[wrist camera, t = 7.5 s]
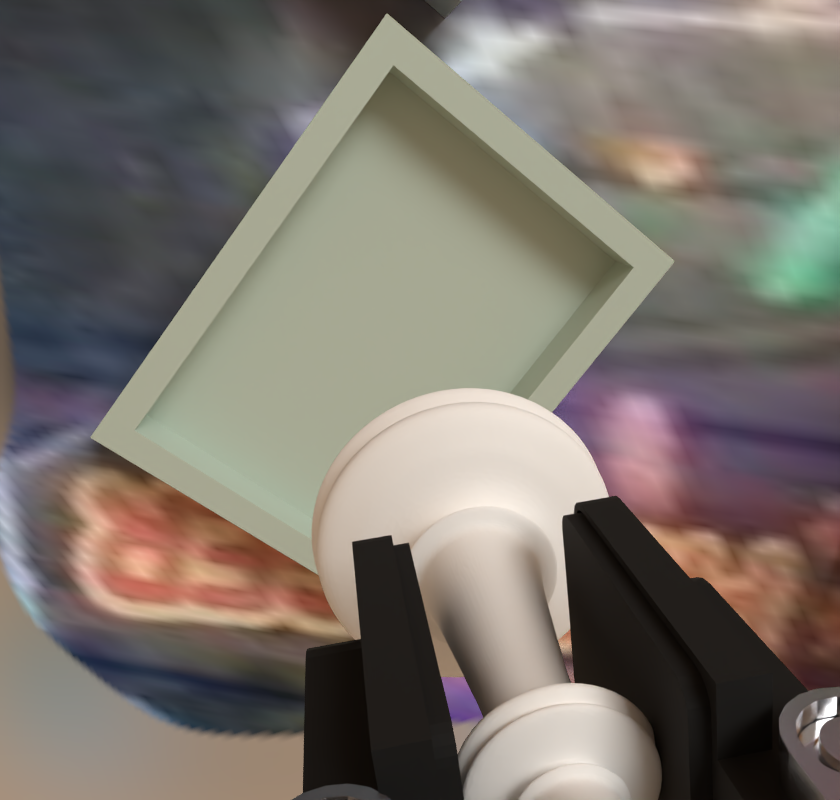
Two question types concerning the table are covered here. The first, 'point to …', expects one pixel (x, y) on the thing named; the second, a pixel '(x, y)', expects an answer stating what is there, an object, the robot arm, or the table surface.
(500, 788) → the chess piece
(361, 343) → the tray
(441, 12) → the shallow grey bin
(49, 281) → the table surface
